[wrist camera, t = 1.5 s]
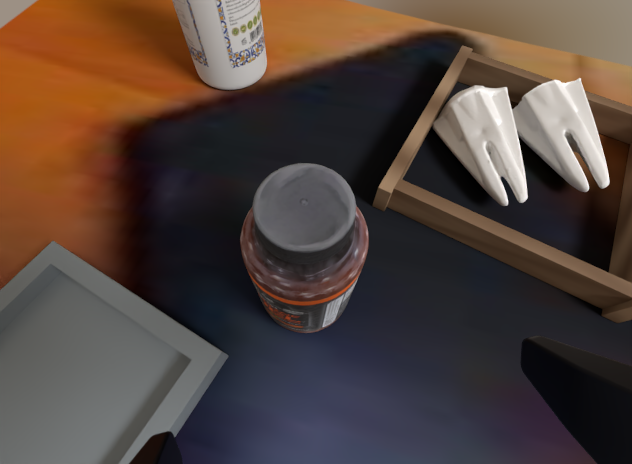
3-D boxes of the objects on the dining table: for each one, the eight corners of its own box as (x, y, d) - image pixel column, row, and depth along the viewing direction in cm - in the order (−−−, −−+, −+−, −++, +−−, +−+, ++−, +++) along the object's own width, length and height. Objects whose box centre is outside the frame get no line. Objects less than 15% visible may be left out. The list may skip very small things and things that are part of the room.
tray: (39, 642, 15) (6, 671, 13) (-138, 455, 18) (-182, 461, 16) (228, 355, 20) (222, 351, 19) (70, 251, 23) (52, 240, 22)
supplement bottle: (244, 302, 22) (188, 219, 12) (294, 236, 24) (284, 120, 14) (318, 354, 21) (327, 309, 10) (365, 279, 23) (408, 183, 13)
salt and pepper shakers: (426, 114, 31) (448, 217, 26) (442, 75, 27) (472, 187, 22) (551, 115, 31) (597, 217, 26) (585, 76, 27) (646, 188, 22)
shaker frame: (617, 323, 22) (652, 314, 20) (372, 205, 26) (378, 187, 23) (643, 137, 29) (670, 116, 27) (452, 69, 33) (462, 45, 31)
